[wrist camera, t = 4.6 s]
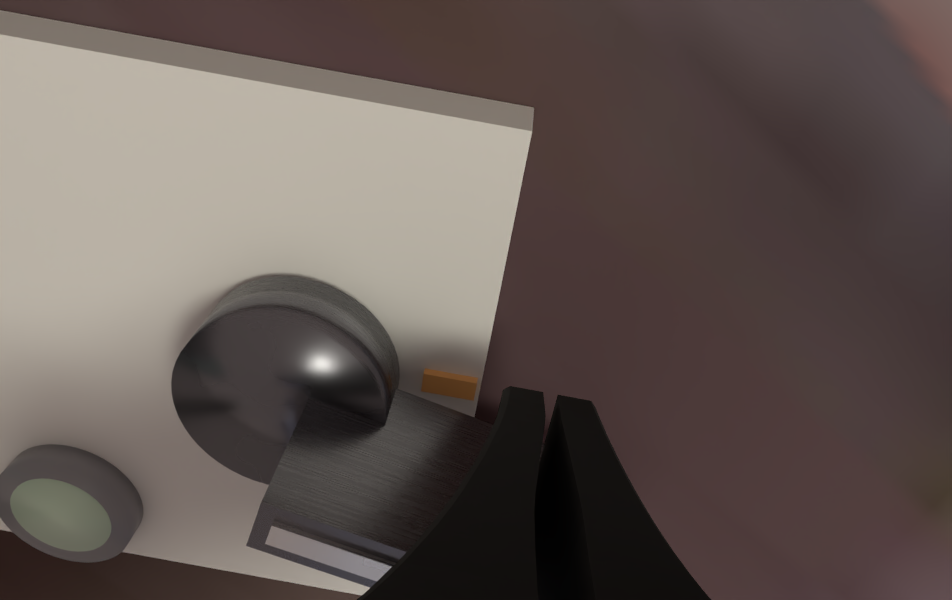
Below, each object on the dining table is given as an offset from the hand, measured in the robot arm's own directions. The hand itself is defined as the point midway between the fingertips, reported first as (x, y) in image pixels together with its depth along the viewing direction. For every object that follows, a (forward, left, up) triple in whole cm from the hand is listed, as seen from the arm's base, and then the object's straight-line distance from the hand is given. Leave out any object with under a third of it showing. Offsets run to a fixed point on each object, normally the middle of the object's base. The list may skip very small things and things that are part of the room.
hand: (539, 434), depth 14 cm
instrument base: (-2, +11, -4) cm, 12 cm away
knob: (-2, +3, -2) cm, 4 cm away
